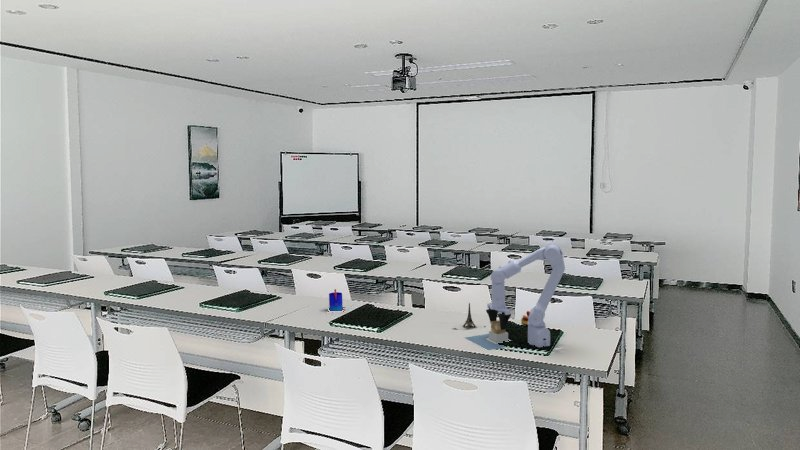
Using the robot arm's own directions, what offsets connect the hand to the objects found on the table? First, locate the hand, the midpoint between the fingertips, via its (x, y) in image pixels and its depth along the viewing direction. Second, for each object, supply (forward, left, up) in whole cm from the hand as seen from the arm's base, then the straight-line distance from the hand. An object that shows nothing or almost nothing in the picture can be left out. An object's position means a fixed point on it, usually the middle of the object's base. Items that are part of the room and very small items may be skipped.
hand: (498, 327), depth 249 cm
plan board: (0, +4, -7) cm, 7 cm away
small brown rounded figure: (+16, -30, -7) cm, 35 cm away
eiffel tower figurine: (+26, -1, -8) cm, 27 cm away
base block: (0, 0, -6) cm, 6 cm away
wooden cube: (0, 0, -2) cm, 2 cm away
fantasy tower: (+89, +46, -7) cm, 100 cm away
